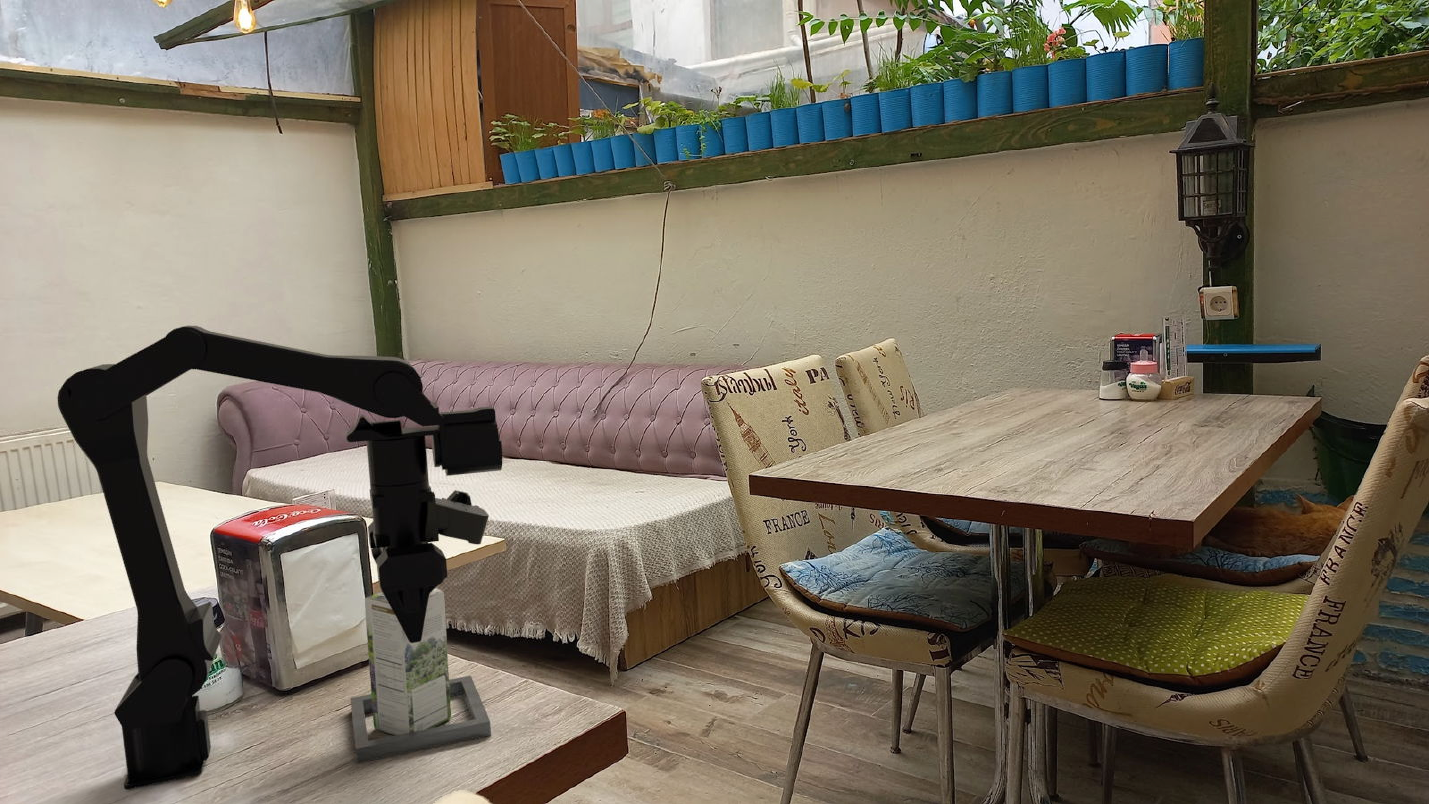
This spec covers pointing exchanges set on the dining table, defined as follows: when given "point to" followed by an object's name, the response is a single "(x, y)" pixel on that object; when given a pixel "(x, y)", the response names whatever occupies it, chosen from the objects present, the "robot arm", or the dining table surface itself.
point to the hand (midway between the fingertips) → (411, 627)
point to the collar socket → (423, 737)
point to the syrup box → (407, 668)
